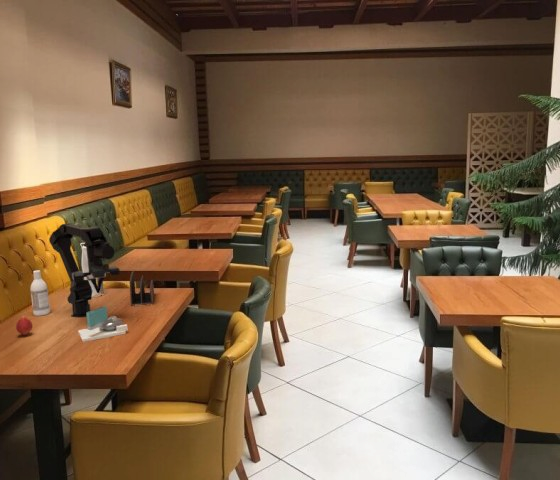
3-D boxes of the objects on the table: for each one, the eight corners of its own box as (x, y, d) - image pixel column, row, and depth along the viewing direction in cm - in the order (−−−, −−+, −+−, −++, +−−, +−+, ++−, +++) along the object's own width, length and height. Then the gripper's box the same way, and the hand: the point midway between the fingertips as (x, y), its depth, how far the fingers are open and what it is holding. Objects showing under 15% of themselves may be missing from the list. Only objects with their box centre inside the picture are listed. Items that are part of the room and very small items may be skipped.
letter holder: (130, 307, 240) (128, 277, 238) (134, 296, 259) (131, 268, 257) (152, 305, 242) (150, 276, 239) (154, 294, 261) (152, 267, 259)
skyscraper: (92, 298, 256) (86, 243, 252) (81, 297, 260) (75, 242, 256) (105, 294, 263) (100, 240, 259) (94, 292, 267) (89, 240, 263)
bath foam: (33, 312, 236) (28, 270, 233) (50, 310, 239) (45, 268, 236) (33, 316, 230) (27, 273, 227) (50, 314, 233) (44, 271, 229)
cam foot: (111, 321, 213) (109, 301, 212) (127, 324, 209) (125, 303, 207) (81, 333, 200) (79, 311, 198) (98, 336, 196) (95, 314, 194)
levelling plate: (121, 324, 214) (120, 317, 214) (128, 333, 204) (127, 325, 203) (78, 332, 206) (77, 325, 206) (83, 342, 196) (82, 334, 195)
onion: (17, 338, 202) (14, 319, 201) (17, 334, 207) (14, 315, 206) (33, 335, 205) (31, 316, 203) (33, 331, 210) (30, 312, 208)
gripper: (73, 263, 206) (77, 300, 209) (121, 257, 215) (124, 293, 218) (70, 258, 216) (74, 294, 218) (115, 253, 225) (118, 287, 227)
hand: (98, 292), depth 220 cm, fingers closed
